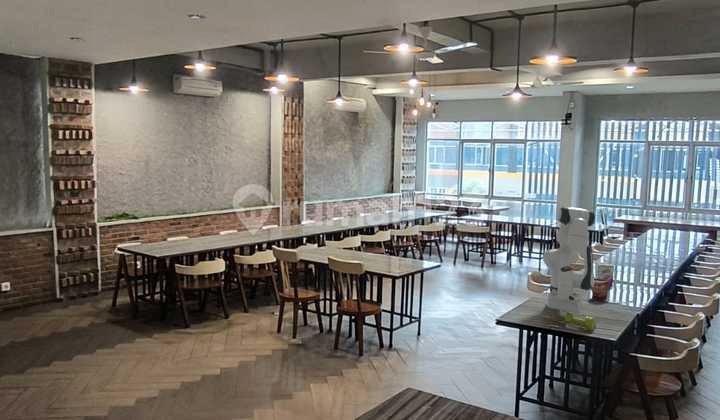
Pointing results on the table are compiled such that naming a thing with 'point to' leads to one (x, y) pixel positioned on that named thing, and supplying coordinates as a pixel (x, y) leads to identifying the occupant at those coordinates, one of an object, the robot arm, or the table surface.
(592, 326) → the dumbbell
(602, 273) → the candy bar box
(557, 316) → the beam slot
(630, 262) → the table surface
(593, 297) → the decorative planter
